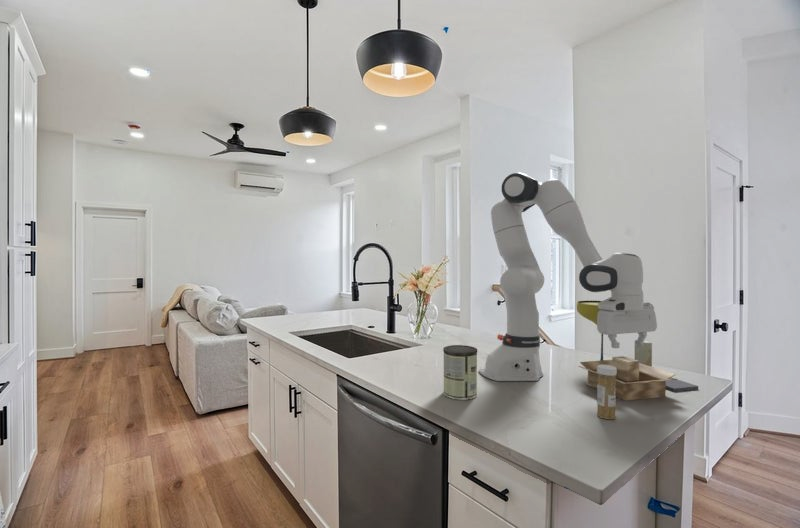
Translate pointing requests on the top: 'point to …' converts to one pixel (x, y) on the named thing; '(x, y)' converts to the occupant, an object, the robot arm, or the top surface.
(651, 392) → the carton
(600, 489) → the top surface
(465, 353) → the coffee can
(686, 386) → the mat
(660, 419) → the top surface
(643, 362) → the box
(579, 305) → the cocktail glass
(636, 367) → the block
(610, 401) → the sprinkles bottle
